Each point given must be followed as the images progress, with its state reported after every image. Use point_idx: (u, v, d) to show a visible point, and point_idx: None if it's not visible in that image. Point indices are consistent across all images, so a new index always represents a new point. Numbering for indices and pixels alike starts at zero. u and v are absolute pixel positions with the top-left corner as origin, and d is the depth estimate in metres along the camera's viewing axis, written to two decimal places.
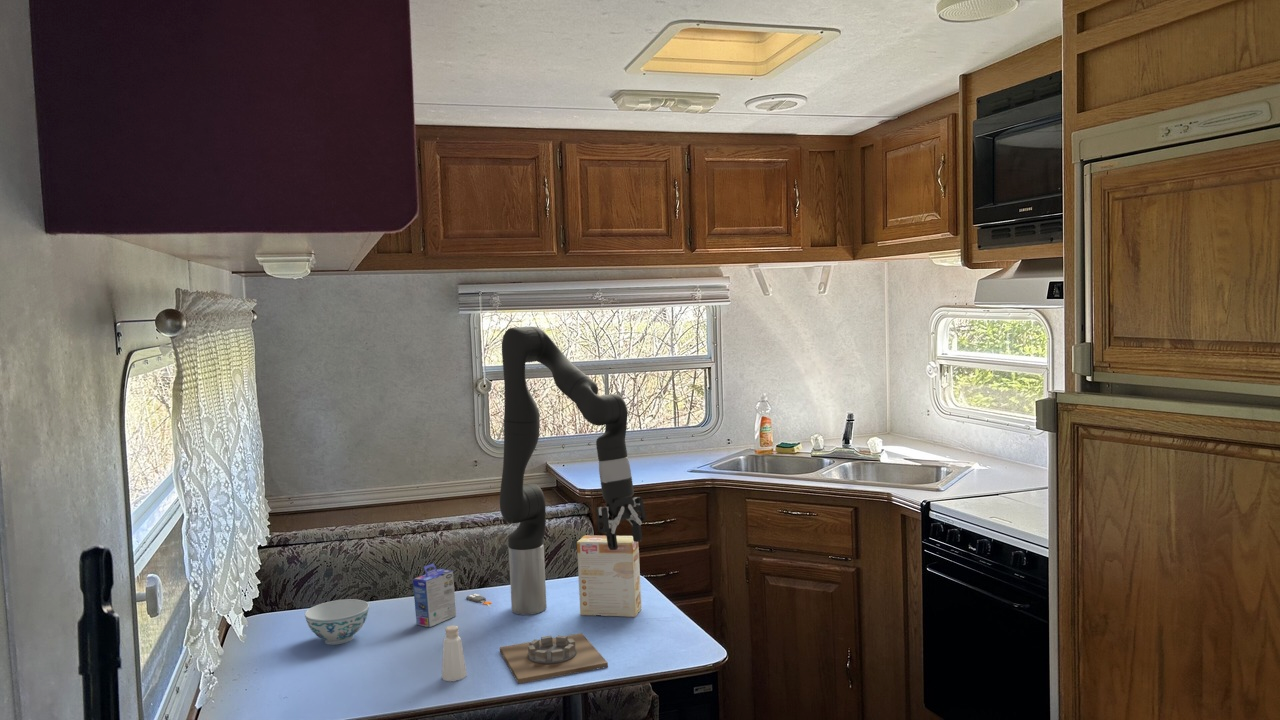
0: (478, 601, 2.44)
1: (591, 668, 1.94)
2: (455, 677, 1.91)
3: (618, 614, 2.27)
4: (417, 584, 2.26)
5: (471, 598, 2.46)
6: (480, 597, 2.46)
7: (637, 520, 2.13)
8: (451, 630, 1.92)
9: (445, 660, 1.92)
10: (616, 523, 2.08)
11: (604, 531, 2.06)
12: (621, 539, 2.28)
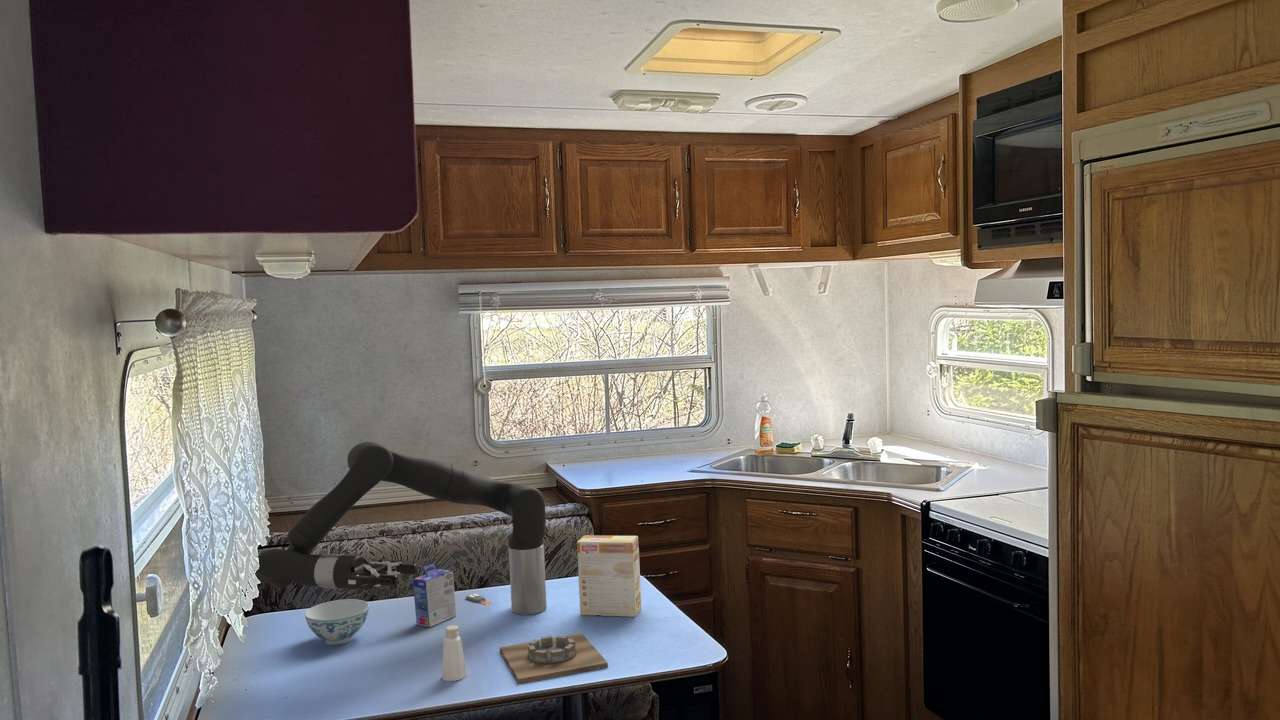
0: (477, 601, 2.44)
1: (591, 668, 1.94)
2: (455, 677, 1.91)
3: (618, 614, 2.27)
4: (417, 584, 2.26)
5: (471, 598, 2.46)
6: (480, 597, 2.46)
7: None
8: (451, 630, 1.92)
9: (445, 660, 1.92)
10: None
11: None
12: (621, 539, 2.28)
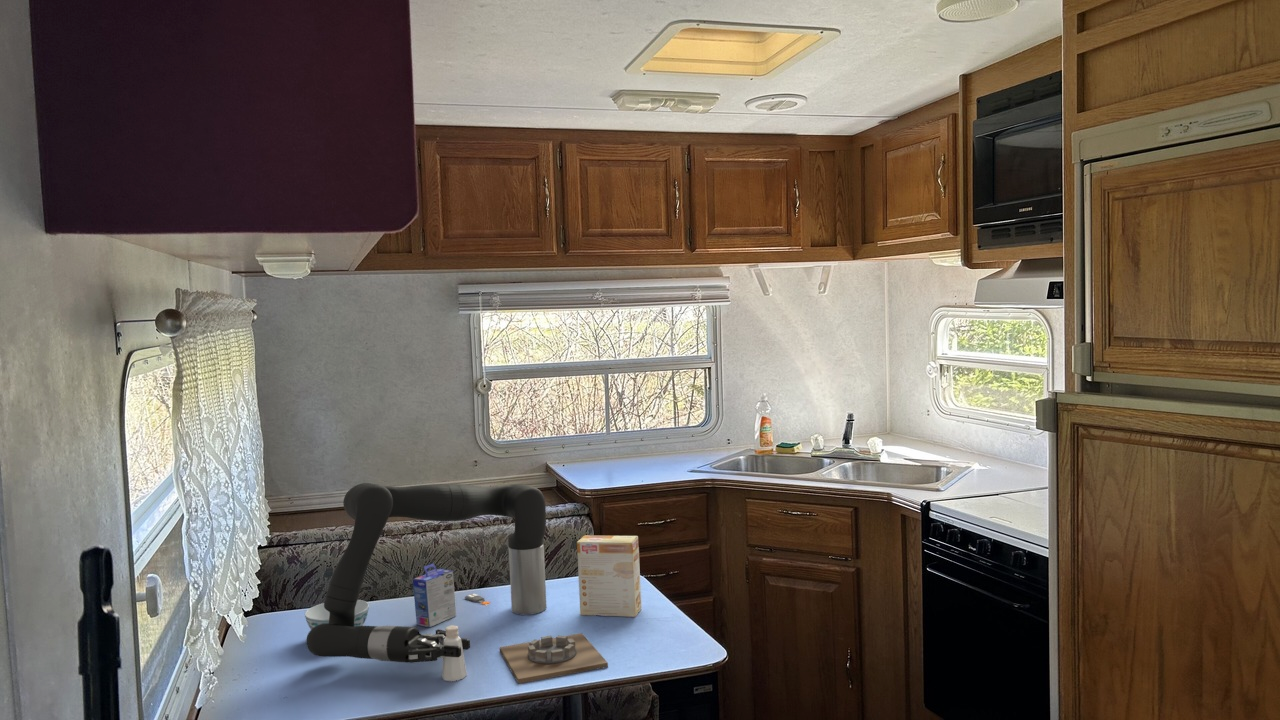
0: (476, 601, 2.44)
1: (591, 668, 1.94)
2: (455, 677, 1.91)
3: (618, 614, 2.27)
4: (417, 584, 2.26)
5: (470, 598, 2.46)
6: (479, 597, 2.46)
7: None
8: (451, 630, 1.92)
9: (445, 660, 1.92)
10: None
11: None
12: (621, 539, 2.28)
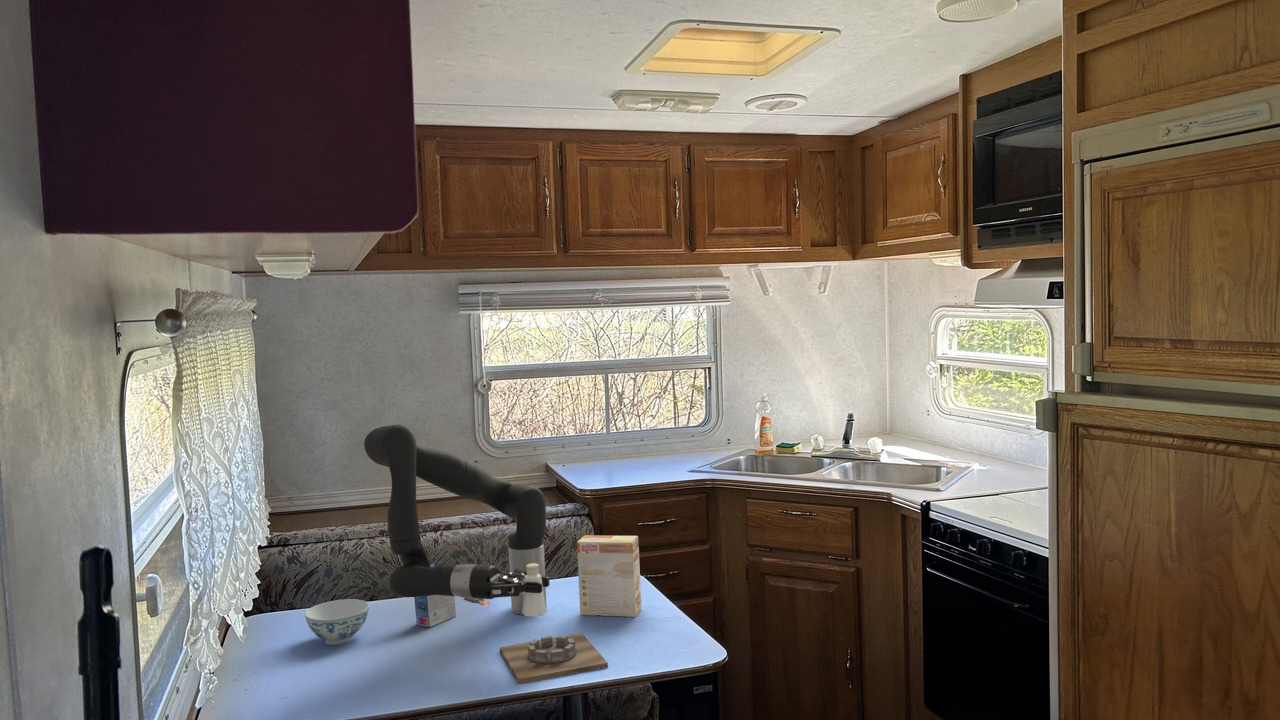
0: (476, 601, 2.44)
1: (591, 668, 1.94)
2: (536, 612, 1.97)
3: (618, 614, 2.27)
4: None
5: (469, 598, 2.46)
6: None
7: None
8: (532, 567, 1.97)
9: (526, 596, 1.97)
10: None
11: None
12: (621, 539, 2.28)
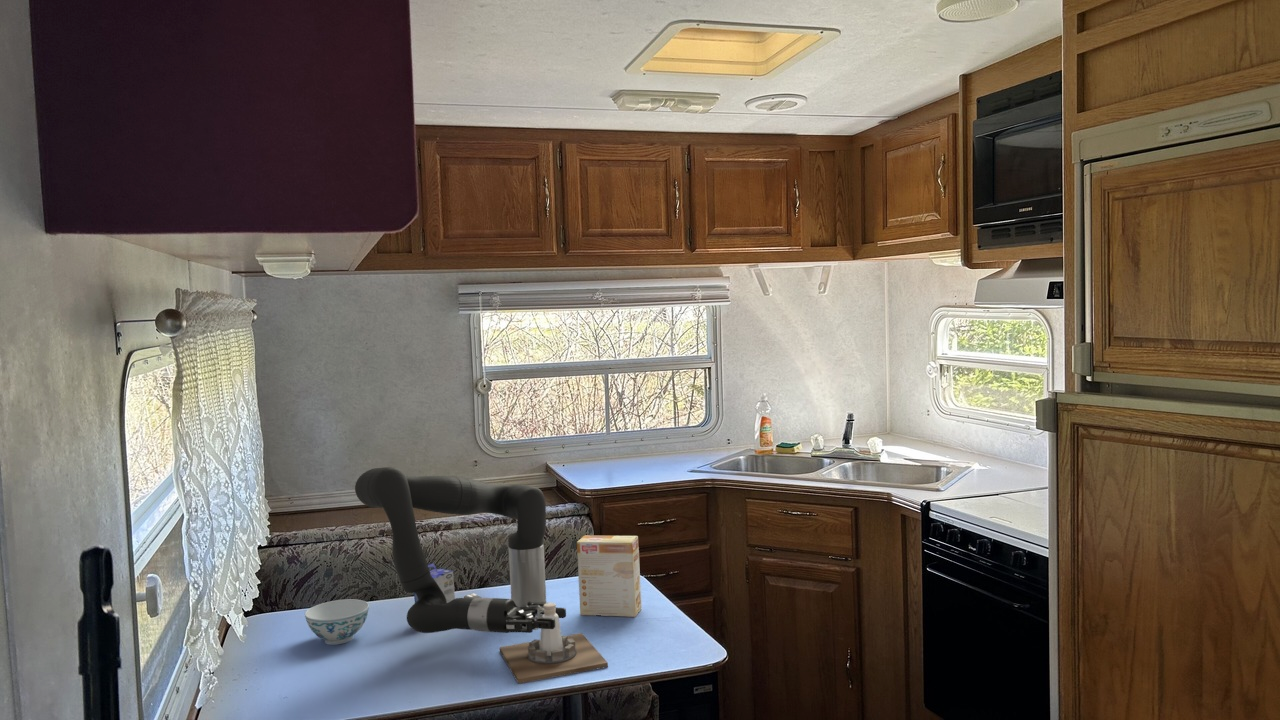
0: None
1: (591, 668, 1.94)
2: None
3: (618, 614, 2.27)
4: None
5: None
6: (477, 597, 2.46)
7: None
8: (550, 607, 2.00)
9: (544, 636, 1.99)
10: None
11: None
12: (621, 539, 2.28)
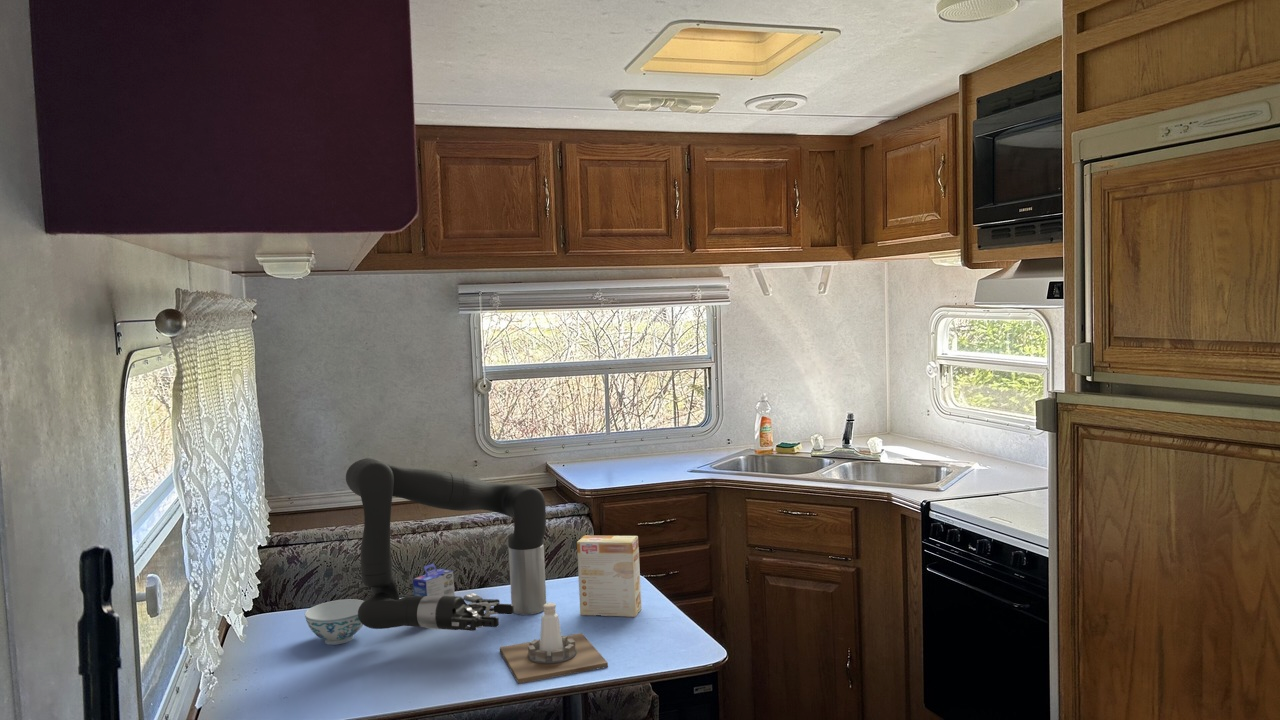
0: (475, 601, 2.44)
1: (591, 668, 1.94)
2: None
3: (618, 614, 2.27)
4: (417, 584, 2.26)
5: (468, 598, 2.46)
6: (477, 597, 2.46)
7: None
8: (549, 607, 1.99)
9: (544, 636, 1.99)
10: None
11: None
12: (621, 539, 2.28)
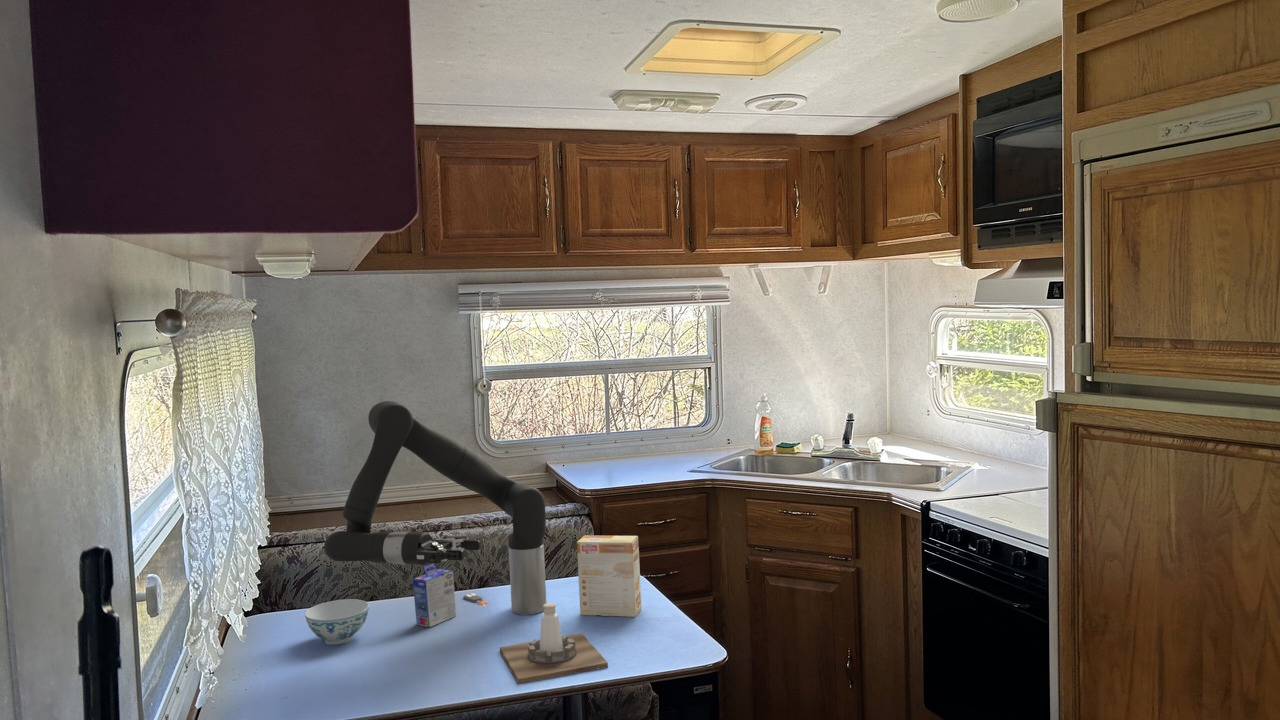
0: (474, 601, 2.44)
1: (591, 668, 1.94)
2: None
3: (618, 614, 2.27)
4: (417, 584, 2.26)
5: (468, 597, 2.46)
6: (476, 597, 2.46)
7: None
8: (549, 607, 1.99)
9: (544, 636, 1.99)
10: None
11: None
12: (621, 539, 2.28)
